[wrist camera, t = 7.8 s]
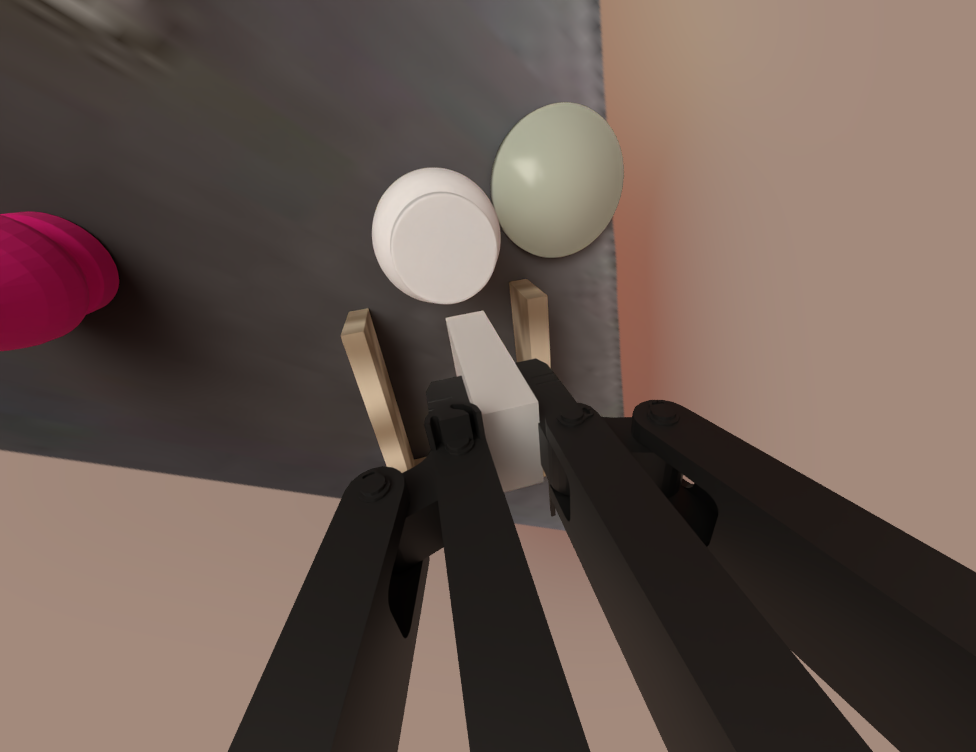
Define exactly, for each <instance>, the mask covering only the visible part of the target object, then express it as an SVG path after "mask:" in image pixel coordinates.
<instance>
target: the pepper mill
mask: <svg viewBox="0 0 976 752" xmlns="http://www.w3.org/2000/svg"><path fill="white" fill-rule="evenodd" d="M118 287H119V276H118V270H117V267H116V264H115V263H114V261H113V259H112V257H111V256H110V254H109V252H108V251H107V250H106V249H105V248H104V246H103V245H102V244H101V243H100V242H99V241H98V240H97V239H96V238H95V237H93V236H92V235H91V234H89V233H88V232H87V231H85V230H84V229H83V228H81V227H79V226H77V225H76V224H74V223H72V222H70V221H68V220H65V219H63V218H60V217H58V216H54V215H50V214H46V213H41V212H18V213H8V214H0V351H7V350H14V349H20V348H26V347H31V346H36V345H40V344H42V343H45V342H48V341H51V340H53V339H56V338H59V337H61V336H64V335H66V334H67V333H69V332H71V331H72V330H73V329H74V328H76V327H77V326H78V325H79V324H80V322H81V321H82V320H83V319H84V317H85V315H87V314H89V313H91V312H94V311H96V310H98V309H100V308H102V307H104V306H106V305H107V304H108V303H109V302H110V301H111V300H112V299H113V298H114V296H115V295H116V293H117V291H118Z"/></svg>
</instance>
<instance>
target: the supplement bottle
mask: <svg viewBox="0 0 976 752" xmlns="http://www.w3.org/2000/svg"><path fill="white" fill-rule="evenodd" d="M372 241H373V247H374V252H375V255H376V258H377V260H378V263H379V265H380V267H381V268H382V270H383V272H384V273H385V275H386V276H387V277H388V279H389V280H390V281H391V282H392V283H393V284H394V285H395V286H396V287H397V288H398V289H400V290H401V291H402V292H404V293H405V294H407V295H409V296H411V297H413V298H415V299H418V300H421V301H424V302H429V303H437V304H454V303H459V302H462V301H465V300H467V299H469V298H471V297H472V296H474V295H475V294H477V293H478V292H479V291H480V290H481V289H482V288H483V287H484V286H485V285H486V284H487V282H488V281H489V279H490V277H491V275H492V273H493V271H494V268H495V265H496V262H497V259H498V256H499V251H500V243H501V234H500V226H499V221H498V217H497V214H496V212H495V209H494V207H493V205H492V203H491V201H490V200H489V198H488V197H487V195H486V194H485V193H484V192H483V190H482V189H481V188H480V187H479V186H478V185H477V184H476V183H474V182H473V181H472V180H470V179H469V178H467V177H466V176H464V175H462V174H460V173H458V172H455V171H452V170H449V169H444V168H423V169H418V170H415V171H412V172H410V173H407V174H405V175H404V176H402V177H400V178H399V179H398V180H396V181H395V182H394V183H393V184H392V185H391V186H390V187H389V188H388V189H387V190H386V191H385V193H384V194H383V196H382V197H381V199H380V201H379V203H378V205H377V208H376V211H375V215H374V219H373V225H372Z"/></svg>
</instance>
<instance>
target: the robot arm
mask: <svg viewBox="0 0 976 752" xmlns="http://www.w3.org/2000/svg"><path fill="white" fill-rule="evenodd" d="M446 323H447V329H448V334H449V339H450V344H451V349H452V354H453V359H454V364H455V369H456V374H457V377H453V378H448V379H443V380H439V381H434V382H431V384H430V386H429V387H428V389H427V391H426V395H427V402H428V410H429V414H428V415H427V416H426V418H425V423H424V426H425V429H426V433H427V437H428V440H429V444H430V448H431V451H430V453H429V454H428V456H427V457H426V458H425V459H424V460H423V461H422V462H421V463H419V464H418V465H416V466H414V467H413V468H411V469H409V470H407V471H405V472H403V473H401V471H399V470H397V469H395V468H393V467H383V466H382V467H378V468H373V469H370V470H368V471H366V472H364V473H362V474H360V475H359V476H358V477H356V478H355V479H354V480H353V481H352V482H351V483H350V484H349V486H348V487H347V489H346V490H345V492H344V494H343V496H342V499H341V501H340V503H339V506H338V508H337V510H336V512H335V514H334V517H333V519H332V521H331V523H330V525H329V528H328V530H327V532H326V535H325V537H324V539H323V541H322V543H321V545H320V548H319V550H318V552H317V554H316V556H315V559H314V561H313V563H312V565H311V568H310V570H309V572H308V574H307V577H306V579H305V581H304V583H303V585H302V588H301V590H300V592H299V594H298V597H297V599H296V601H295V603H294V605H293V608H292V610H291V612H290V614H289V617H288V619H287V621H286V623H285V626H284V628H283V630H282V632H281V634H280V637H279V639H278V641H277V643H276V645H275V648H274V650H273V652H272V654H271V657H270V659H269V661H268V663H267V665H266V668H265V670H264V672H263V674H262V677H261V679H260V681H259V683H258V685H257V688H256V690H255V692H254V694H253V697H252V699H251V701H250V703H249V706H248V708H247V710H246V712H245V714H244V717H243V719H242V721H241V723H240V726H239V728H238V730H237V732H236V734H235V737H234V739H233V741H232V743H231V746H230V748H229V750H228V752H397V750H398V745H399V739H400V733H401V727H402V721H403V715H404V709H405V703H406V697H407V691H408V685H409V679H410V673H411V668H412V662H413V655H414V649H415V644H416V637H417V632H418V626H419V619H420V614H421V608H422V602H423V596H424V590H425V584H426V578H427V571H428V566H429V556H430V555H431V554H433V553H435V552H436V551H438V550H440V549H441V548H443V547H444V552H445V560H446V567H447V576H448V583H449V591H450V599H451V607H452V613H453V622H454V630H455V638H456V645H457V653H458V661H459V669H460V677H461V684H462V692H463V700H464V708H465V716H466V723H467V731H468V739H469V747H470V752H590V749H589V746H588V743H587V740H586V737H585V735H584V731H583V728H582V725H581V722H580V719H579V716H578V713H577V710H576V707H575V704H574V701H573V698H572V695H571V692H570V689H569V686H568V683H567V680H566V677H565V674H564V671H563V668H562V666H561V663H560V660H559V656H558V653H557V650H556V647H555V645H554V641H553V639H552V635H551V632H550V629H549V626H548V624H547V620H546V618H545V614H544V611H543V608H542V605H541V603H540V599H539V596H538V594H537V591H536V587H535V585H534V581H533V579H532V576H531V573H530V570H529V567H528V564H527V561H526V558H525V555H524V552H523V549H522V546H521V543H520V540H519V537H518V534H517V531H516V528H515V525H514V522H513V519H512V516H511V513H510V510H509V507H508V504H507V501H506V498H505V495H504V492H507V491H511V490H515V489H519V488H523V487H526V486H530V485H534V484H538V483H542V482H544V481H543V470H544V472H545V474H546V476H547V478H548V480H549V497H550V511H551V516H555V508H556V510H557V512H558V514H559V517H560V519H561V521H562V523H563V525H564V527H565V530H566V532H567V534H568V536H569V538H570V540H571V543H572V545H573V547H574V549H575V551H576V553H577V556H578V557H579V559H580V562H581V564H582V566H583V568H584V570H585V573H586V575H587V577H588V579H589V581H590V583H591V586H592V588H593V590H594V592H595V594H596V597H597V599H598V601H599V603H600V605H601V607H602V610H603V612H604V614H605V616H606V618H607V620H608V623H609V624H610V627H611V629H612V631H613V633H614V636H615V638H616V640H617V642H618V644H619V646H620V648H621V650H622V653H623V655H624V657H625V659H626V661H627V663H628V666H629V668H630V670H631V672H632V674H633V677H634V679H635V681H636V683H637V685H638V687H639V690H640V692H641V694H642V696H643V698H644V700H645V702H646V705H647V707H648V709H649V711H650V713H651V715H652V718H653V720H654V722H655V724H656V726H657V729H658V731H659V733H660V735H661V737H662V739H663V741H664V744H665V746H666V748H667V750H668V752H873V751H872V750H871V749H870V748H869V746H868V745H867V744H866V743H865V741H864V740H863V739H862V738H861V736H860V735H859V734H858V733H857V731H856V730H855V729H854V728H853V727H852V725H851V724H850V723H849V722H848V720H847V719H846V718H845V717H844V716H843V714H842V713H841V712H840V711H839V709H838V708H837V707H836V706H835V704H834V703H833V702H832V701H831V699H830V698H829V697H828V696H827V694H826V693H825V692H824V691H823V690H822V688H821V687H820V686H819V685H818V683H817V682H816V681H815V680H814V678H813V677H812V676H811V675H810V674H809V672H808V671H807V670H806V669H805V668H804V666H803V665H802V664H801V663H800V661H799V660H798V659H797V658H796V656H795V655H794V654H793V653H792V652H794V653H795V654H796V655H797V656H798V657H799V658H800V659H801V660H802V661H803V662H804V663H806V665H807V666H809V667H810V668H811V669H812V670H813V671H814V672H815V673H816V674H817V675H818V676H819V677H820V678H821V679H823V680H824V681H825V682H826V683H827V684H828V685H829V686H830V687H831V688H832V689H833V690H834V691H836V692H837V693H838V694H839V695H840V696H841V697H842V698H843V699H844V700H845V701H846V702H847V703H848V704H849V705H850V706H852V707H853V708H854V709H855V710H856V711H857V712H858V713H859V714H860V715H861V716H862V717H863V718H865V719H866V720H867V721H868V722H869V723H870V724H871V725H872V726H873V727H874V728H875V729H876V730H877V731H878V732H880V733H881V734H882V735H883V736H884V737H885V738H886V739H887V740H888V741H889V742H890V743H891V744H892V745H894V746H895V747H896V748H897V749H898V750H899V751H900V752H976V572H974V571H972V570H971V569H969V568H967V567H965V566H964V565H962V564H960V563H958V562H957V561H955V560H953V559H951V558H950V557H948V556H946V555H944V554H942V553H941V552H939V551H937V550H935V549H934V548H932V547H930V546H928V545H927V544H925V543H923V542H921V541H919V540H918V539H916V538H914V537H912V536H911V535H909V534H907V533H905V532H904V531H902V530H900V529H898V528H897V527H895V526H893V525H891V524H890V523H888V522H886V521H884V520H882V519H881V518H879V517H877V516H875V515H874V514H872V513H870V512H868V511H867V510H865V509H863V508H861V507H860V506H858V505H856V504H854V503H853V502H851V501H849V500H847V499H845V498H844V497H842V496H840V495H838V494H837V493H835V492H833V491H831V490H830V489H828V488H826V487H824V486H822V485H821V484H819V483H817V482H815V481H814V480H812V479H810V478H808V477H806V476H805V475H803V474H801V473H800V472H798V471H796V470H794V469H793V468H791V467H789V466H787V465H786V464H784V463H782V462H780V461H779V460H777V459H775V458H773V457H771V456H770V455H768V454H766V453H764V452H763V451H761V450H759V449H757V448H756V447H754V446H752V445H750V444H749V443H747V442H745V441H743V440H741V439H740V438H738V437H736V436H734V435H733V434H731V433H729V432H727V431H725V430H724V429H722V428H720V427H718V426H717V425H715V424H713V423H712V422H710V421H708V420H706V419H704V418H703V417H701V416H699V415H697V414H696V413H694V412H692V411H690V410H689V409H687V408H685V407H683V406H681V405H679V404H676V403H674V402H670V401H665V400H649V401H646V402H642V403H640V404H639V405H637V406H636V407H635V409H634V411H633V416H632V417H620V418H610V417H601V416H600V415H599V414H598V412H597V411H595V410H594V409H593V408H592V407H590V406H588V405H585V404H582V403H577V402H576V401H575V400H574V398H573V397H572V396H571V394H570V393H569V392H568V391H567V389H566V388H565V387H564V385H563V384H562V383H561V381H559V379H558V377H557V376H556V375H555V374H554V372H553V371H552V370H551V368H550V367H549V366H548V364H546V363H544V362H542V361H540V360H538V359H536V358H535V359H530V360H526V361H521V362H516V363H515V362H514V361H513V359H512V357H511V356H510V354H509V352H508V351H507V349H506V347H505V346H504V344H503V342H502V341H501V339H500V337H499V336H498V334H497V333H496V331H495V329H494V328H493V326H492V324H491V323H490V321H489V319H488V318H487V316H486V314H485V313H484V311H478V312H473V313H468V314H463V315H458V316H453V317H448V318H446ZM683 475H685V476H686V477H688V478H689V479H690V480H691V481H693V482H694V484H690V483H689V482H687V481H685V480H684V479H683Z"/></svg>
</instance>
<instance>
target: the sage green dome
mask: <svg viewBox="0 0 976 752" xmlns="http://www.w3.org/2000/svg"><path fill="white" fill-rule="evenodd" d="M623 179H624V166H623V158H622V153H621V148H620V146H619V143H618V140H617V138H616V136H615V134H614V132H613V130H612V129H611V127H610V126H609V124H608V123H607V122H606V121H605V120H604V119H603V118H602V117H601V116H600V115H599V114H597V113H596V112H595V111H593V110H592V109H590V108H588V107H586V106H583V105H580V104H576V103H569V102H564V103H555V104H550V105H547V106H544V107H542V108H539V109H537V110H535V111H533V112H531V113H530V114H528V115H526V116H525V117H524V118H522V119H521V120H520V121H519V122H518V123H517V124H516V125H515V126H514V127H513V128H512V129H511V130H510V131H509V133H508V134H507V135H506V137H505V138H504V140H503V142H502V143H501V145H500V147H499V149H498V152H497V154H496V157H495V160H494V163H493V167H492V173H491V182H490V193H491V201H492V205H493V207H494V209H495V212H496V214H497V217H498V221H499V225H500V227H501V228H502V230H503V232H504V233H505V234H506V235H507V237H508V238H509V239H510V240H511V241H512V242H513V243H515V244H516V245H517V246H519V247H520V248H522V249H523V250H525V251H527V252H529V253H531V254H534V255H537V256H541V257H547V258H556V257H563V256H567V255H571V254H573V253H576V252H578V251H580V250H581V249H583V248H585V247H586V246H588V245H589V244H590V243H592V242H593V241H594V240H595V239H596V238H597V237H598V236H599V235H600V234H601V233H602V232H603V231H604V229H605V228H606V226H607V225H608V224H609V222H610V220H611V219H612V217H613V215H614V213H615V210H616V208H617V205H618V203H619V200H620V197H621V192H622V187H623Z"/></svg>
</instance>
